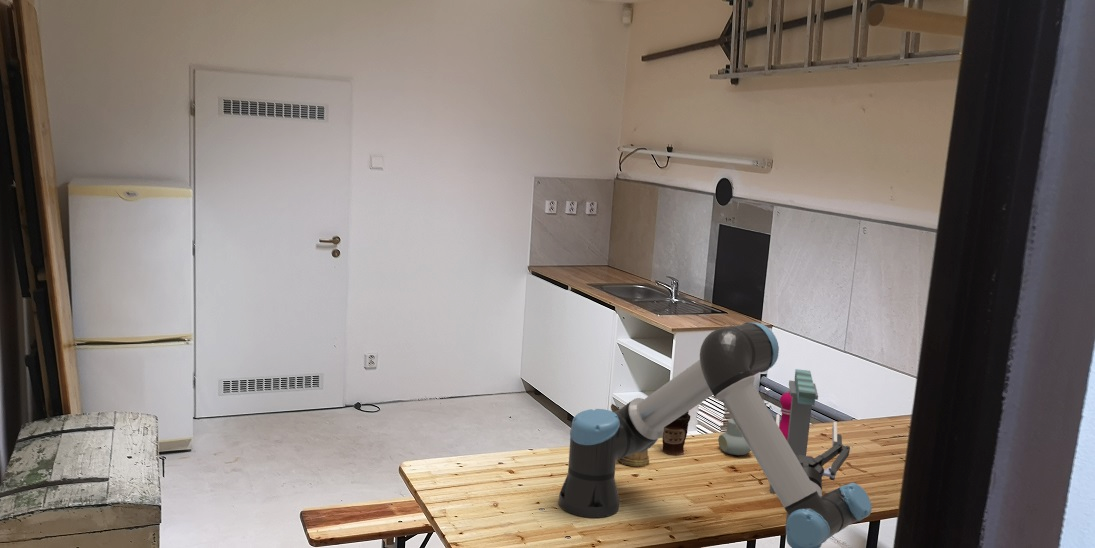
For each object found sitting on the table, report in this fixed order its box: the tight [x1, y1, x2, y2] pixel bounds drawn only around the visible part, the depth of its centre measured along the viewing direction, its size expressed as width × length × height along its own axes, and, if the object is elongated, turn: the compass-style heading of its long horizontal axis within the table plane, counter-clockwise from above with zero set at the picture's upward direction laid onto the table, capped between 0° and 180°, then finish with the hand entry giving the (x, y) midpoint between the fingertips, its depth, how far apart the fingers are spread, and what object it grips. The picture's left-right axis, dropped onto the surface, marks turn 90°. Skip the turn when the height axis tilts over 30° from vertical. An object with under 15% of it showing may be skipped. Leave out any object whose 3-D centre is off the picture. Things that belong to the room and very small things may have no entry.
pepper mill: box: [779, 388, 792, 440], centre depth 261 cm, size 7×7×20 cm
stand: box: [769, 379, 819, 495], centre depth 230 cm, size 16×12×28 cm
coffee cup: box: [662, 410, 691, 456], centre depth 252 cm, size 9×8×13 cm
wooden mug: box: [610, 403, 650, 468], centre depth 241 cm, size 9×14×18 cm, turn 117°
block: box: [794, 368, 816, 406], centre depth 225 cm, size 26×4×3 cm, turn 165°
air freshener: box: [717, 418, 752, 456], centre depth 256 cm, size 11×8×10 cm
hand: (805, 421), depth 208 cm, fingers open, 13 cm apart
